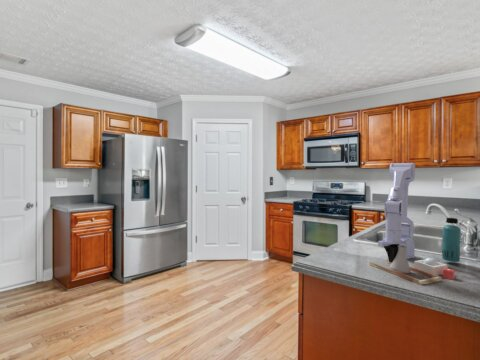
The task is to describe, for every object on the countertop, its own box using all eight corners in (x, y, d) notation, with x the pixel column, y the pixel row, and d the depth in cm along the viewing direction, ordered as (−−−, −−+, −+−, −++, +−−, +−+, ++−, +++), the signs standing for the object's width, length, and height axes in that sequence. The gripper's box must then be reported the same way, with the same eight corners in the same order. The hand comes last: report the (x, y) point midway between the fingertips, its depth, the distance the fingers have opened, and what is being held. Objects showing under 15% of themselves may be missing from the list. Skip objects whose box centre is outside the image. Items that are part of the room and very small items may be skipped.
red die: (445, 275, 110) (445, 267, 110) (454, 277, 108) (454, 269, 108) (442, 277, 108) (443, 269, 108) (452, 279, 106) (452, 271, 106)
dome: (428, 267, 118) (428, 255, 118) (441, 270, 113) (441, 259, 113) (420, 268, 116) (420, 256, 116) (432, 272, 111) (432, 260, 111)
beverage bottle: (457, 262, 127) (459, 217, 126) (462, 266, 121) (463, 219, 120) (440, 260, 130) (441, 216, 129) (443, 264, 124) (444, 218, 123)
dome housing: (427, 267, 120) (427, 259, 120) (447, 273, 112) (447, 264, 112) (414, 269, 117) (414, 261, 117) (433, 276, 109) (433, 267, 109)
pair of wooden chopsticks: (388, 262, 126) (388, 259, 126) (441, 280, 105) (441, 277, 105) (369, 264, 122) (369, 262, 122) (421, 284, 101) (421, 281, 101)
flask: (386, 266, 118) (388, 243, 117) (402, 266, 119) (405, 243, 118) (397, 274, 111) (399, 249, 110) (414, 274, 112) (417, 249, 110)
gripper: (397, 226, 124) (396, 257, 124) (372, 229, 118) (371, 261, 119) (412, 229, 118) (411, 262, 118) (386, 232, 112) (386, 266, 112)
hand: (392, 262), depth 118 cm, fingers closed, pressing on flask
